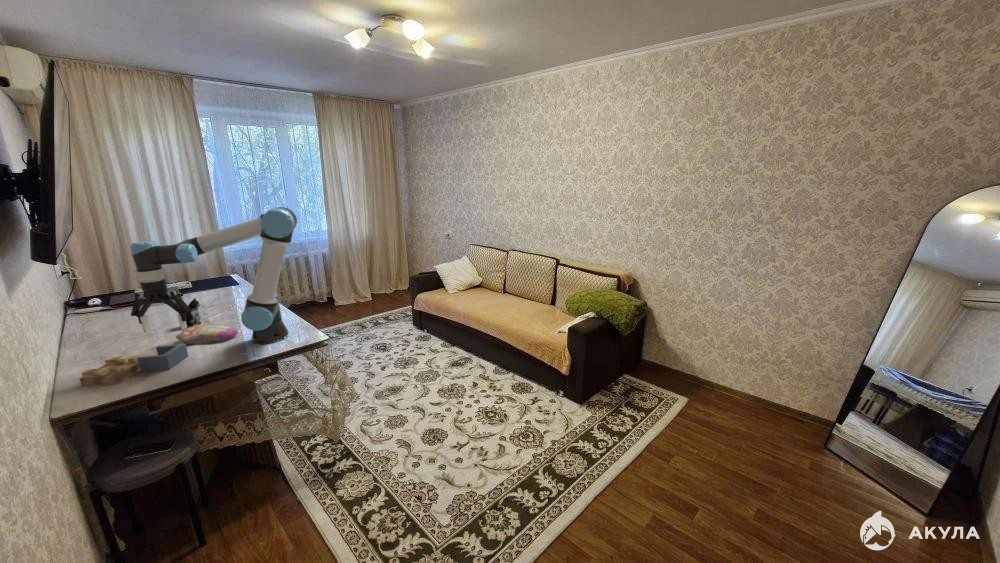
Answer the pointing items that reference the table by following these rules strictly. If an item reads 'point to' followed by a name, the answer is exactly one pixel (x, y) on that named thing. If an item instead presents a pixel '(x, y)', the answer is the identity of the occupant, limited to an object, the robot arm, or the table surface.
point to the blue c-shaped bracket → (163, 358)
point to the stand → (111, 371)
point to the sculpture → (206, 333)
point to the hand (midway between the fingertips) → (166, 329)
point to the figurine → (193, 314)
